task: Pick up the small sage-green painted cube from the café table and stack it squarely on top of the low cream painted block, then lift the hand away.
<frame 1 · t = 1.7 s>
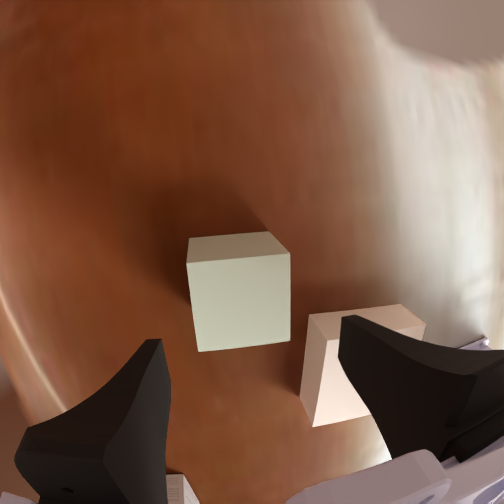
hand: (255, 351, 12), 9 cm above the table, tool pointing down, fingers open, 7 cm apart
cream block: (349, 351, 25), on the table
supplement box: (160, 489, 27), on the table
sage block: (231, 272, 21), on the table
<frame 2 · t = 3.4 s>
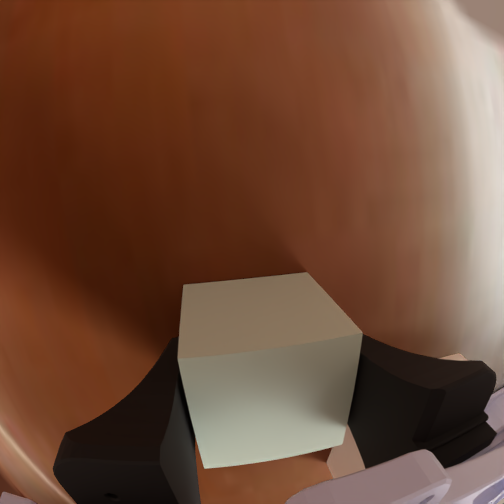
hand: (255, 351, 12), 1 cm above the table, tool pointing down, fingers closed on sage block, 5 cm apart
cream block: (393, 410, 17), on the table
sage block: (249, 332, 13), on the table, touching gripper
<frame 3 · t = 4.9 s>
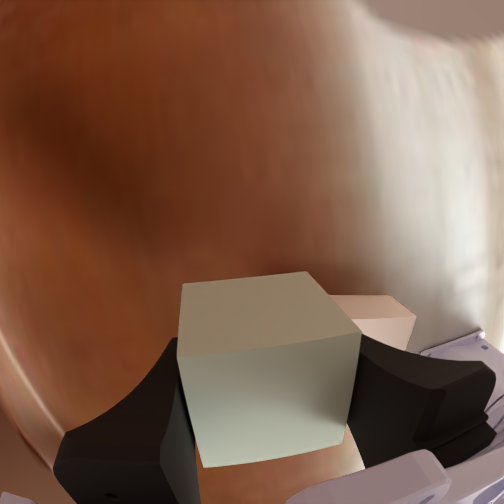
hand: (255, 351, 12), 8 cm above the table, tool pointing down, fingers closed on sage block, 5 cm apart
cream block: (331, 341, 23), on the table
sage block: (249, 331, 13), point 7 cm above the table, touching gripper
when the fingers open (6 cm above the table, at t = 6.7 s): sage block drops 1 cm, point 4 cm above the table.
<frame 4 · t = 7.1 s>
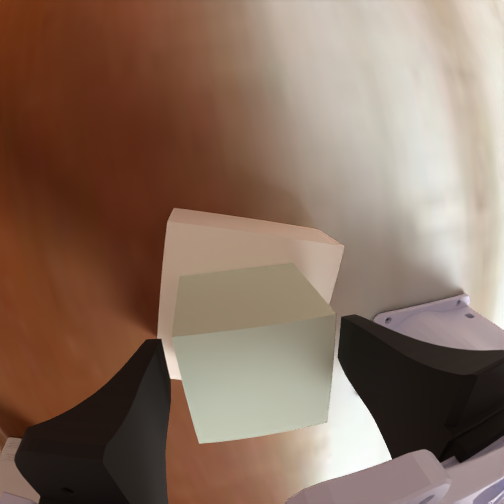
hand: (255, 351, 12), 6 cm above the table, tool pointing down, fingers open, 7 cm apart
cream block: (235, 285, 18), on the table
supplement box: (53, 461, 21), on the table
sage block: (241, 320, 15), point 4 cm above the table
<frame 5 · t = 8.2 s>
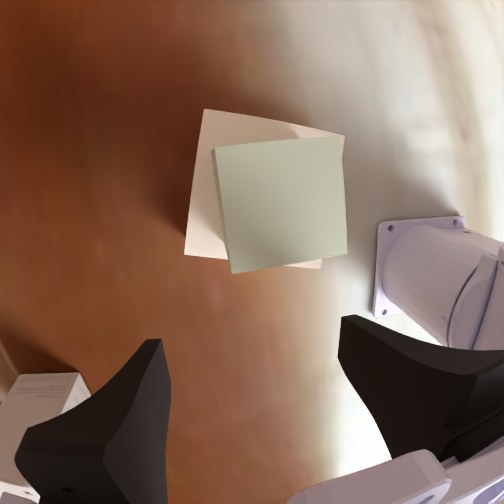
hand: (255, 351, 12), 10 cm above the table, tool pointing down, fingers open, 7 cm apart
cream block: (255, 186, 21), on the table
supplement box: (64, 401, 24), on the table
sage block: (263, 190, 17), point 4 cm above the table
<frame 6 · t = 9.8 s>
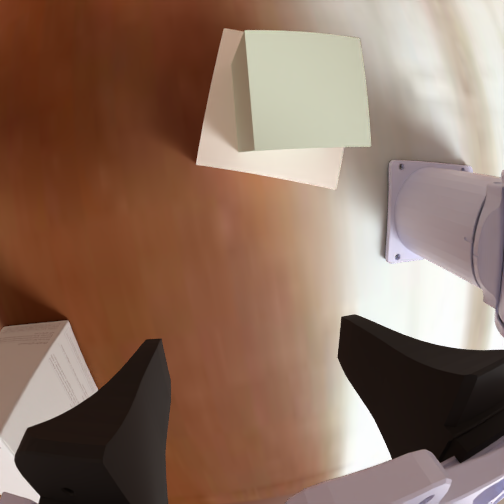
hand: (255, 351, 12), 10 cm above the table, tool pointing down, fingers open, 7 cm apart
cream block: (267, 115, 20), on the table, touching sage block
supplement box: (50, 358, 22), on the table
sage block: (280, 104, 16), point 4 cm above the table, touching cream block
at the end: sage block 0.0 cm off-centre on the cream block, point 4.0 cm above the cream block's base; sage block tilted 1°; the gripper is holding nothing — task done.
